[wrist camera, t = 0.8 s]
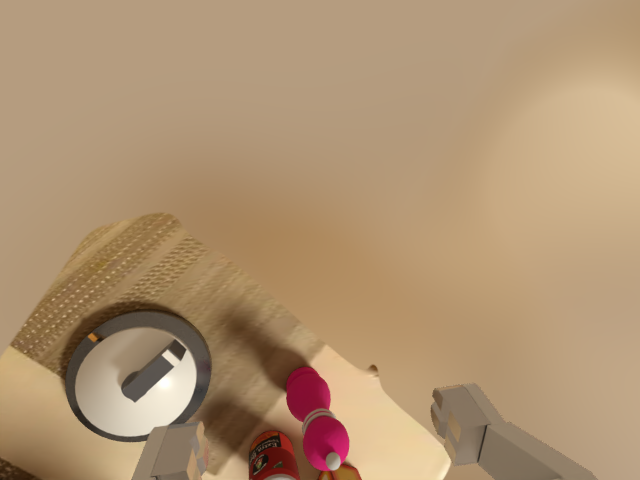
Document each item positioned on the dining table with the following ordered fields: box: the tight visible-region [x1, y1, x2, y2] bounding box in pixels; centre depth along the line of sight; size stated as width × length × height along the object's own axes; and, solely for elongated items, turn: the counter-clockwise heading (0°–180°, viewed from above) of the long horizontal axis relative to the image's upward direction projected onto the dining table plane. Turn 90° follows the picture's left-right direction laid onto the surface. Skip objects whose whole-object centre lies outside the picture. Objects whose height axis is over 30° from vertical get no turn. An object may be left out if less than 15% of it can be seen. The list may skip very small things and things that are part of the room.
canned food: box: [249, 431, 300, 480], centre depth 50 cm, size 8×8×11 cm
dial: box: [75, 326, 197, 436], centre depth 45 cm, size 16×16×6 cm
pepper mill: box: [286, 367, 349, 471], centre depth 46 cm, size 7×7×20 cm
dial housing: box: [65, 309, 212, 442], centre depth 49 cm, size 20×20×3 cm
